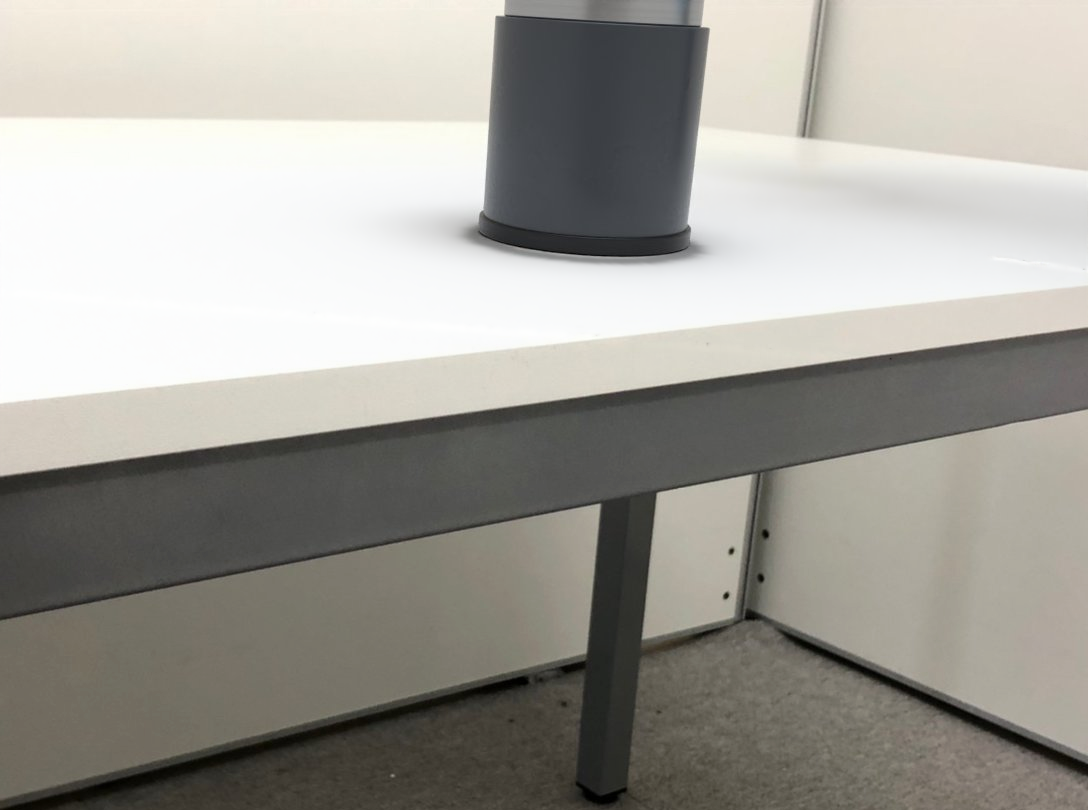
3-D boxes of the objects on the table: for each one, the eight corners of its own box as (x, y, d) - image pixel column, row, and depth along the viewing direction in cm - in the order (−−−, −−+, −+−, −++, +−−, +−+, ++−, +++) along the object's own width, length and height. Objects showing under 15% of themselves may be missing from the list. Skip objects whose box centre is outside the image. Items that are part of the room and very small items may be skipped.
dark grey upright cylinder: (683, 226, 69) (711, -17, 65) (695, 262, 59) (729, -21, 55) (487, 212, 70) (502, -28, 66) (467, 246, 60) (484, -34, 56)
